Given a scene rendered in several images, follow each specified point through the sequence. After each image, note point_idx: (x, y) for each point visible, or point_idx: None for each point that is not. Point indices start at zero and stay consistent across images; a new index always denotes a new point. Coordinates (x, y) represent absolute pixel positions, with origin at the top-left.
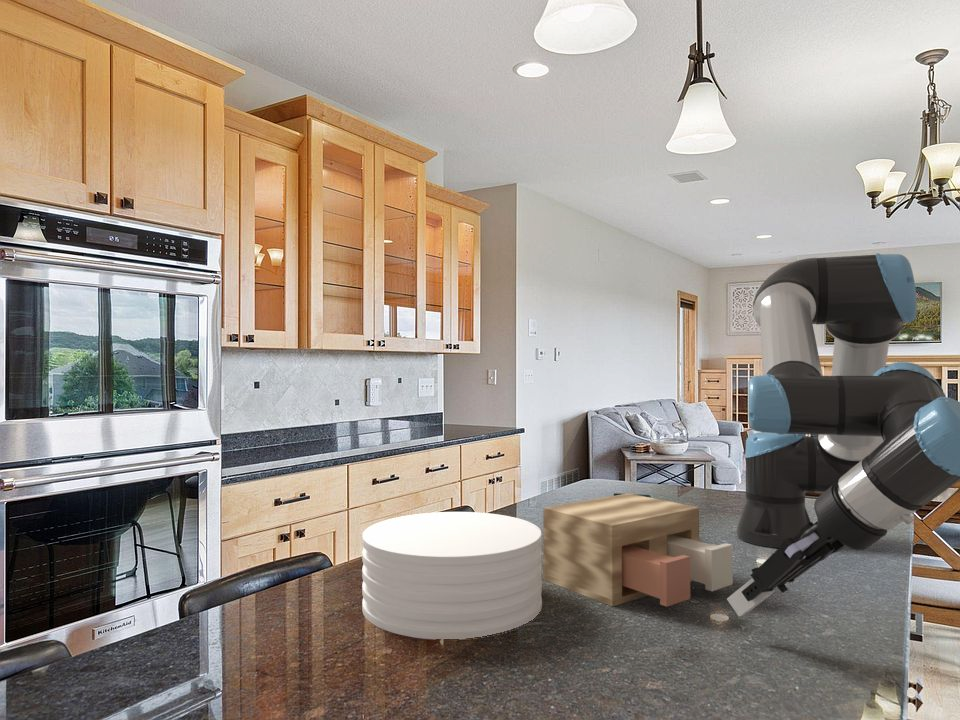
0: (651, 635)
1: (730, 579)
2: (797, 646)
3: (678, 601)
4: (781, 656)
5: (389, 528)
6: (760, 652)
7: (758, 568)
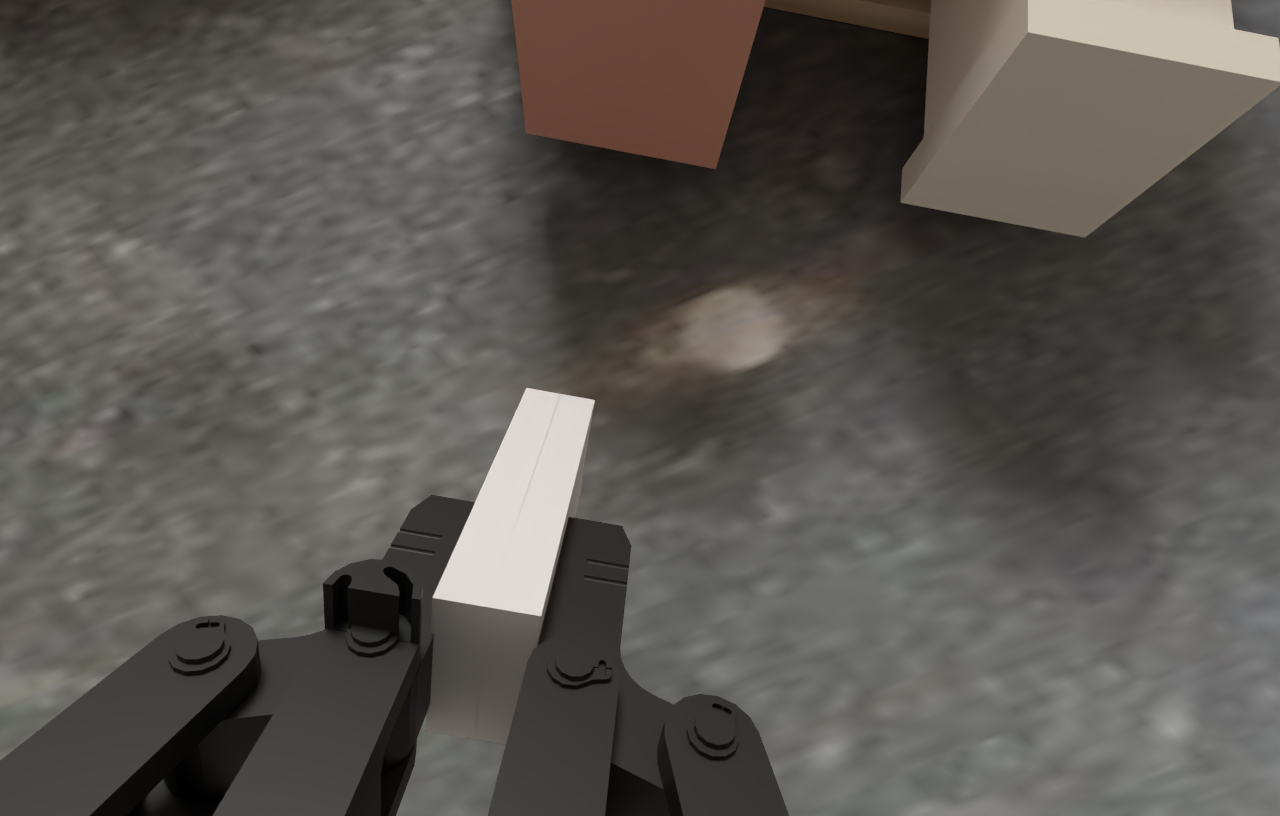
0: (301, 201)
1: (1085, 217)
2: None
3: (620, 146)
4: (458, 757)
5: None
6: None
7: (16, 756)
